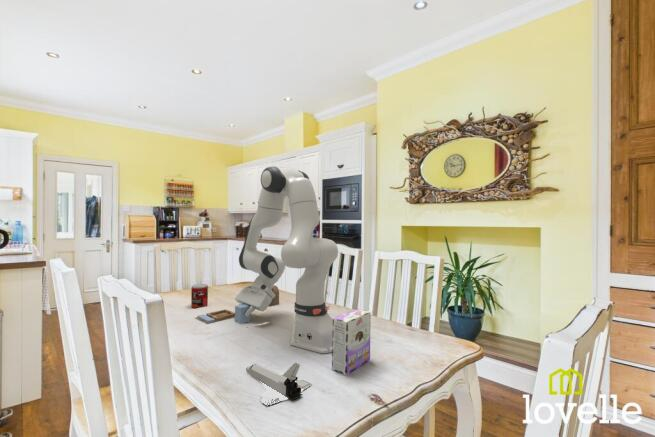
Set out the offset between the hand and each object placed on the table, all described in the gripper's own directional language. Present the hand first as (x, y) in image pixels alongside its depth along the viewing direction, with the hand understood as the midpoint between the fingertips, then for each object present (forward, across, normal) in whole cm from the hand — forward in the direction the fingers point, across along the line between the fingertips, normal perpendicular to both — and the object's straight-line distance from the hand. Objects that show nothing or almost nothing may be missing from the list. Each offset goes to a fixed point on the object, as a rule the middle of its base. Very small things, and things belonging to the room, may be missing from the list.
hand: (241, 314), depth 144 cm
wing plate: (+9, -13, -5) cm, 17 cm away
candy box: (+1, +59, +6) cm, 59 cm away
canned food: (+4, -39, +3) cm, 39 cm away
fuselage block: (+3, 0, +4) cm, 4 cm away
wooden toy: (-18, -22, +24) cm, 37 cm away
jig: (+6, -13, 0) cm, 14 cm away
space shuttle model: (+19, +50, -12) cm, 55 cm away
